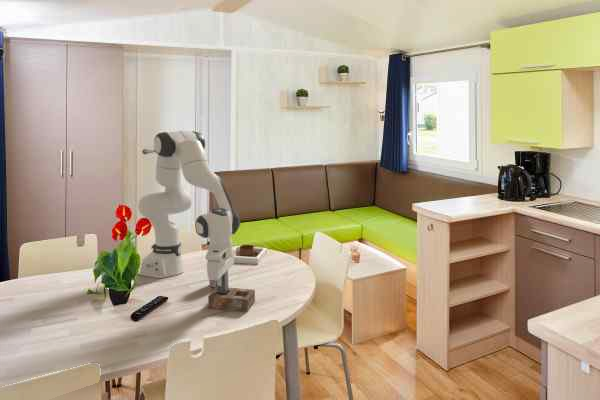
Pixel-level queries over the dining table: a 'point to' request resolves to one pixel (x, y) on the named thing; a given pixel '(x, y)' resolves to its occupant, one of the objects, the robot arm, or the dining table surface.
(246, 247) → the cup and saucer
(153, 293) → the dining table surface
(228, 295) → the socket block
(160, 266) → the robot arm
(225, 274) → the plug
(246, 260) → the cup corral
